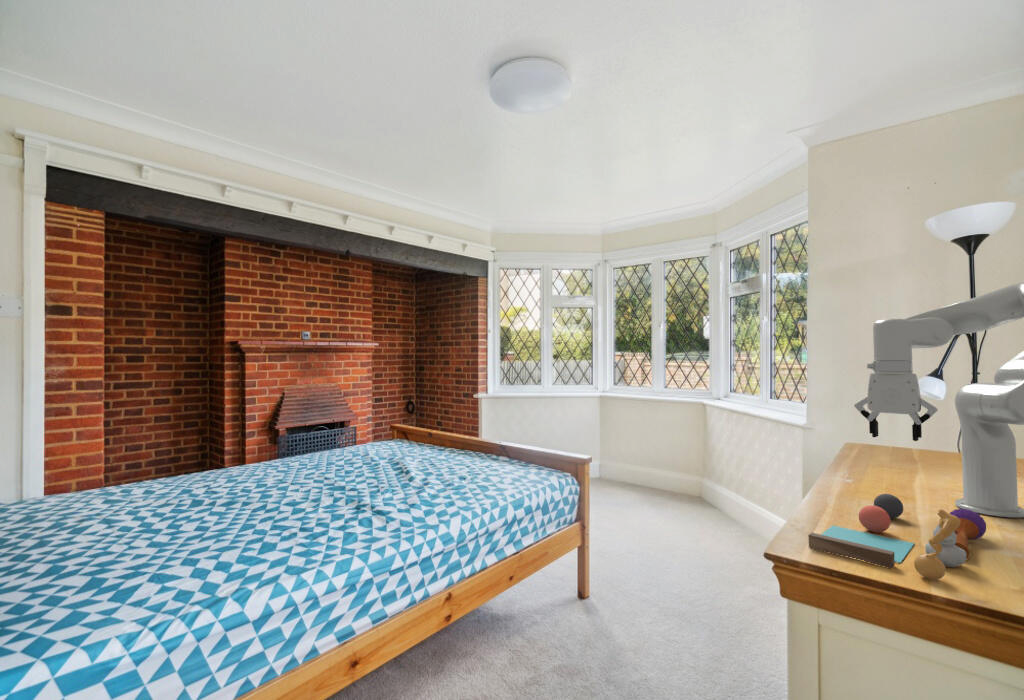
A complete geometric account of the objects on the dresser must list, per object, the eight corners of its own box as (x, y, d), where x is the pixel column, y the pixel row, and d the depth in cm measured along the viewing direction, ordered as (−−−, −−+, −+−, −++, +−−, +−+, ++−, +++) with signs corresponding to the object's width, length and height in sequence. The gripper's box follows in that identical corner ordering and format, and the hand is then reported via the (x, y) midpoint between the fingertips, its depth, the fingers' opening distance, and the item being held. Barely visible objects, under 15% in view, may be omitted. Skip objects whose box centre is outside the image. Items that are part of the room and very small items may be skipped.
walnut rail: (812, 545, 94) (811, 532, 94) (894, 565, 84) (894, 551, 84) (808, 547, 92) (808, 534, 93) (892, 569, 83) (891, 554, 83)
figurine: (922, 568, 83) (920, 500, 83) (969, 581, 78) (966, 508, 79) (906, 580, 78) (904, 508, 79) (955, 595, 73) (953, 517, 74)
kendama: (931, 533, 90) (945, 505, 103) (940, 565, 89) (953, 532, 102) (974, 536, 85) (982, 505, 99) (984, 569, 85) (991, 534, 98)
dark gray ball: (876, 512, 115) (876, 489, 115) (905, 518, 110) (905, 494, 111) (871, 517, 111) (870, 494, 111) (901, 523, 107) (900, 498, 107)
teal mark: (832, 526, 105) (832, 525, 105) (914, 544, 94) (914, 543, 94) (812, 541, 95) (812, 540, 95) (900, 563, 85) (900, 562, 85)
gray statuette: (922, 564, 85) (921, 519, 85) (930, 555, 89) (928, 512, 89) (963, 574, 81) (962, 527, 81) (969, 564, 85) (968, 519, 85)
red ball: (862, 525, 105) (861, 500, 106) (893, 531, 101) (892, 506, 101) (856, 531, 102) (855, 505, 102) (887, 538, 98) (887, 511, 98)
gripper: (847, 368, 122) (849, 436, 122) (937, 368, 109) (939, 444, 109) (855, 368, 127) (856, 433, 127) (941, 368, 114) (943, 441, 114)
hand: (895, 438), depth 118 cm, fingers open, 7 cm apart
